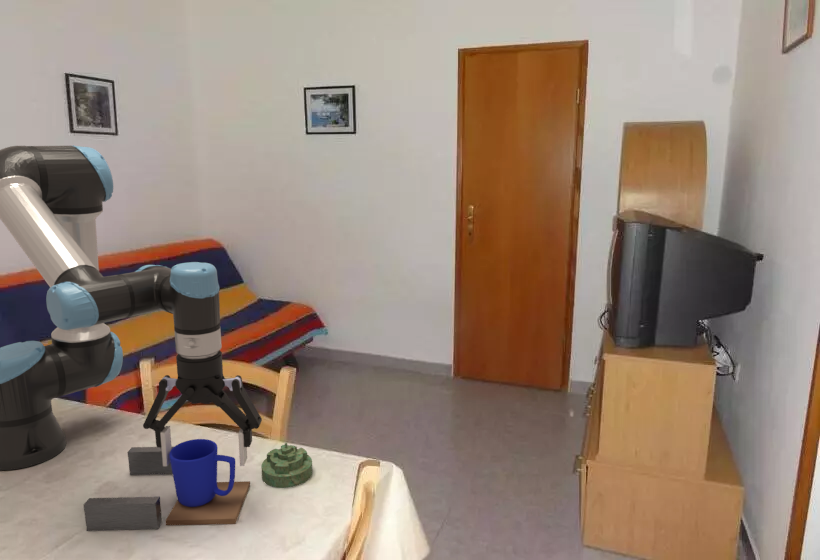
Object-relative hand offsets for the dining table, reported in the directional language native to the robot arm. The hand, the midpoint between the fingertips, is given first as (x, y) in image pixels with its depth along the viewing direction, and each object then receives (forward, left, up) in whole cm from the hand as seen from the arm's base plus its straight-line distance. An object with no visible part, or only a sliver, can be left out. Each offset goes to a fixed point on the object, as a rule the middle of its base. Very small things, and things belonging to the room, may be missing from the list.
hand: (205, 462), depth 108 cm
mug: (0, 0, -8) cm, 8 cm away
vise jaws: (-4, -13, -8) cm, 16 cm away
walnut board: (0, 0, -8) cm, 8 cm away
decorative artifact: (-10, +13, -9) cm, 18 cm away
